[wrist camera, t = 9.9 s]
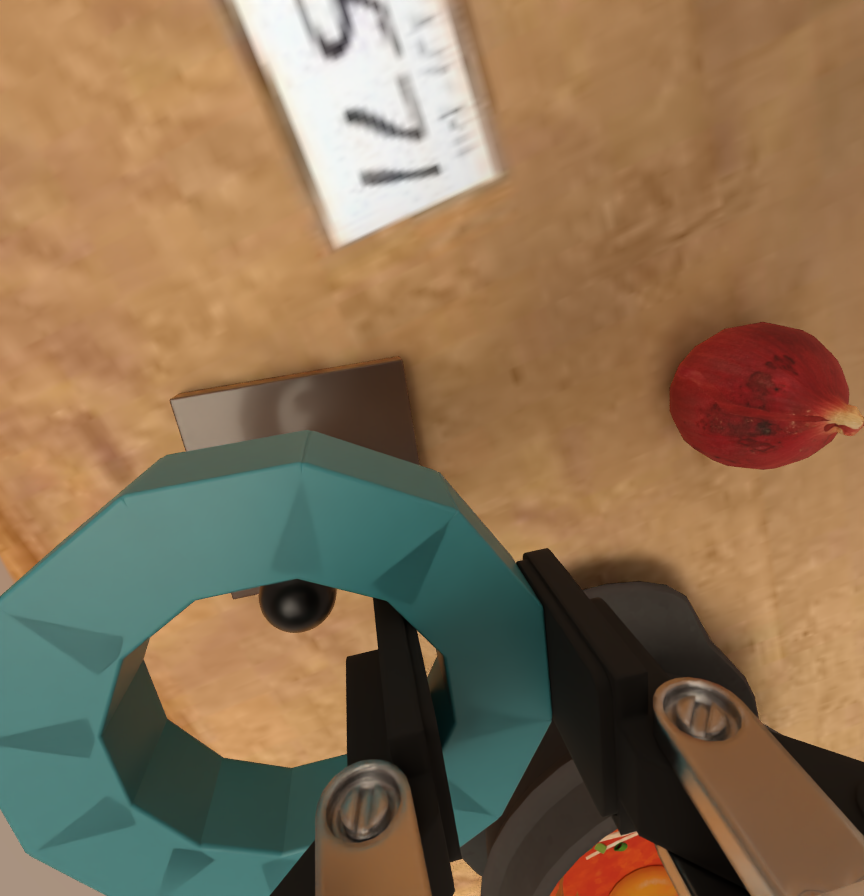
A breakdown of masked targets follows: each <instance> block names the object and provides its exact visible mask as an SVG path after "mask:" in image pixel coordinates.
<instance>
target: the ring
mask: <svg viewBox="0 0 864 896" xmlns="http://www.w3.org/2000/svg"><path fill="white" fill-rule="evenodd" d="M293 579H300V580H304V581H308V582H312V583H317V584H321V585H325V586H329V587H333V588H337V589H341V590H345V591H349V592H353V593H357V594H361V595H365V596H369V597H373V598H377V599H381V600H385V601H387V602H389V603H390V604H391V605H392V606H393V607H394V608H395V609H396V610H397V611H398V612H399V613H400V614H401V615H402V616H403V617H404V618H405V619H406V620H407V621H408V622H409V623H410V624H411V625H412V626H413V627H414V628H415V629H416V630H417V631H418V632H419V633H420V634H422V635H423V636H424V637H425V638H426V639H427V640H428V641H429V642H430V643H431V644H432V645H433V646H434V647H435V648H436V652H437V658H436V660H435V662H434V664H433V666H432V669H431V671H430V673H429V675H428V677H427V680H428V684H429V689H430V693H431V698H432V702H433V707H434V711H435V716H436V721H437V726H438V731H439V736H440V741H441V747H442V752H443V757H444V763H445V768H446V774H447V779H448V785H449V790H450V796H451V801H452V806H453V812H454V817H455V823H456V828H457V834H458V839H459V845H460V847H461V846H463V845H464V844H465V843H467V842H468V841H469V840H471V839H472V838H473V837H475V836H476V835H477V834H479V833H480V832H481V831H483V830H484V829H485V828H487V827H488V826H490V825H491V824H492V823H494V822H495V821H496V820H498V818H499V817H500V816H502V814H503V812H504V810H505V808H506V806H507V804H508V802H509V801H510V799H511V797H512V795H513V793H514V791H515V789H516V787H517V786H518V784H519V782H520V780H521V778H522V776H523V774H524V772H525V771H526V769H527V767H528V765H529V763H530V761H531V759H532V757H533V756H534V754H535V752H536V750H537V748H538V746H539V744H540V742H541V740H542V739H543V737H544V735H545V733H546V731H547V729H548V727H549V725H550V724H551V722H552V703H551V692H550V680H549V668H548V656H547V644H546V632H545V620H544V609H543V606H542V604H541V602H540V601H539V599H538V598H537V596H536V595H535V593H534V591H533V590H532V588H531V587H530V585H529V583H528V582H527V580H526V579H525V577H524V575H523V574H522V572H521V571H520V569H519V567H518V566H517V564H516V563H515V561H514V560H513V558H512V556H511V555H510V554H509V553H508V551H507V550H506V549H505V548H504V547H503V546H502V544H501V543H500V542H499V541H498V540H497V539H496V537H495V536H494V535H493V534H492V533H491V532H490V530H489V529H488V528H487V527H486V526H485V525H484V523H483V522H482V521H481V520H480V519H479V518H478V516H477V515H476V514H475V513H474V512H473V511H472V509H471V508H470V507H469V506H468V505H467V504H466V503H465V501H464V500H463V499H462V498H461V497H460V496H459V494H458V493H457V492H456V491H455V490H454V489H453V487H452V486H451V485H450V484H449V483H448V482H447V480H446V479H445V478H444V477H443V476H442V475H441V473H439V472H437V471H435V470H432V469H429V468H426V467H423V466H420V465H417V464H414V463H411V462H408V461H405V460H402V459H399V458H395V457H392V456H389V455H386V454H383V453H380V452H377V451H374V450H371V449H368V448H365V447H362V446H359V445H356V444H353V443H349V442H346V441H343V440H340V439H337V438H334V437H331V436H328V435H325V434H322V433H319V432H316V431H310V430H304V431H298V432H292V433H287V434H281V435H276V436H270V437H264V438H259V439H253V440H248V441H242V442H237V443H231V444H225V445H220V446H214V447H209V448H203V449H198V450H192V451H186V452H181V453H175V454H170V455H166V456H164V457H163V458H160V459H159V460H158V461H157V462H156V463H154V464H153V465H152V466H151V467H150V468H148V469H147V470H146V471H145V472H144V473H143V474H141V475H140V476H139V477H138V478H137V479H135V480H134V481H133V482H132V483H131V484H130V485H128V486H127V487H126V488H125V489H124V490H122V491H121V492H120V493H119V494H118V495H117V496H115V497H114V498H113V499H112V500H111V501H109V502H108V503H107V504H106V505H105V506H103V507H102V508H101V509H100V510H99V511H98V512H96V513H95V514H94V515H93V516H92V517H90V518H89V519H88V520H87V521H86V522H85V523H83V524H82V525H81V526H80V527H79V528H77V529H76V530H75V531H74V532H73V533H72V534H70V535H69V536H68V537H67V538H66V539H64V540H63V541H62V542H61V543H60V544H59V545H57V546H56V547H55V548H54V549H53V550H52V551H51V552H50V553H48V554H47V555H46V556H45V557H44V558H43V559H42V560H41V561H39V562H38V563H37V564H36V565H35V566H34V567H33V568H32V569H30V570H29V571H28V572H27V573H26V574H25V575H24V576H22V577H21V578H20V579H19V580H18V581H17V582H16V583H15V584H13V585H12V586H11V587H10V588H9V589H8V590H7V591H6V592H4V593H3V594H2V595H1V596H0V809H1V811H2V813H3V814H4V816H5V818H6V819H7V821H8V823H9V825H10V827H11V828H12V830H13V832H14V833H15V835H16V837H17V839H18V840H19V842H20V844H21V846H22V847H23V849H24V851H25V852H26V853H27V854H29V855H30V856H31V857H33V858H35V859H37V860H39V861H41V862H43V863H45V864H47V865H49V866H51V867H52V868H54V869H56V870H58V871H60V872H62V873H64V874H66V875H68V876H70V877H72V878H73V879H75V880H77V881H79V882H81V883H83V884H85V885H87V886H89V887H91V888H93V889H95V890H97V891H99V892H100V893H103V894H104V895H106V896H270V895H271V893H272V892H273V891H274V890H275V888H276V887H277V886H278V885H279V883H280V882H281V881H282V880H283V878H284V877H285V876H286V875H287V873H288V872H289V871H290V870H291V869H292V867H293V866H294V865H295V864H296V862H297V861H298V860H299V859H300V857H301V856H302V855H303V854H304V852H305V851H306V850H307V849H308V848H309V846H310V845H311V844H312V843H313V841H314V840H315V815H316V808H317V803H318V801H319V799H320V796H321V794H322V792H323V790H324V788H325V787H326V786H327V785H328V783H329V782H330V781H331V779H332V778H333V777H334V776H335V775H337V774H338V773H339V772H340V771H342V770H343V769H344V768H346V767H347V754H345V755H341V756H337V757H333V758H329V759H325V760H321V761H317V762H314V763H310V764H306V765H302V766H298V767H294V768H288V767H281V766H274V765H268V764H261V763H254V762H248V761H241V760H234V759H228V758H223V757H222V756H220V755H219V754H217V753H216V752H214V751H213V750H211V749H210V748H209V747H207V746H206V745H204V744H203V743H201V742H200V741H198V740H197V739H196V738H194V737H193V736H191V735H190V734H188V733H187V732H185V731H184V730H183V729H181V728H180V727H178V726H177V725H175V724H174V723H172V722H171V721H170V720H168V719H167V717H166V715H165V712H164V710H163V707H162V705H161V702H160V700H159V697H158V695H157V692H156V690H155V687H154V685H153V682H152V680H151V677H150V675H149V672H148V670H147V667H146V664H145V662H144V656H145V652H146V649H147V645H148V642H149V639H150V637H151V636H152V635H154V634H155V633H156V632H157V631H159V630H160V629H161V628H162V627H163V626H165V625H166V624H167V623H168V622H170V621H171V620H172V619H173V618H174V617H176V616H177V615H178V614H179V613H181V612H182V611H183V610H184V609H185V608H187V607H188V606H189V605H190V604H192V603H193V602H194V601H195V600H199V599H204V598H208V597H213V596H218V595H223V594H227V593H232V592H237V591H241V590H246V589H251V588H256V587H260V586H265V585H270V584H275V583H279V582H284V581H289V580H293Z"/></svg>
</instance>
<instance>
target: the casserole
mask: <svg viewBox="0 0 864 896" xmlns="http://www.w3.org/2000/svg"><path fill="white" fill-rule="evenodd" d="M583 592H584V593H585V594H586V595H587V596H588V598H589V599H592V598H596V597H599V598H602V599H603V600H604V601H605V602H606V603H607V604H608V605H609V606H610V608H611V609H612V610H613V611H614V612H615V613H616V615H617V616H618V617H619V618H620V619H621V620H622V622H623V623H624V624H625V625H626V626H627V628H628V629H629V630H630V631H631V632H632V633H633V635H634V636H635V637H636V638H637V639H638V640H639V642H640V643H641V644H642V645H643V646H644V648H645V649H646V650H647V651H648V652H649V653H650V655H651V656H652V657H653V658H654V659H655V660H656V662H657V663H658V664H659V665H660V666H661V668H662V669H663V670H664V671H665V672H666V673H667V675H668V676H669V677H670V678H671V679H674V678H683V677H692V678H700V679H705V680H708V681H711V682H714V683H717V684H719V685H721V686H722V687H724V688H726V689H728V690H729V691H731V692H733V693H734V694H735V695H736V696H737V697H738V698H739V699H740V700H742V701H743V702H744V703H745V705H746V706H747V707H748V708H749V709H750V710H751V711H752V712H753V713H754V715H755V716H756V717H757V718H758V719H759V717H758V712H757V707H756V702H755V697H754V694H753V692H752V690H751V688H750V686H749V684H748V682H747V680H746V678H745V676H744V675H743V674H742V673H741V672H740V671H739V670H738V669H737V668H736V667H735V665H734V664H733V663H732V662H731V661H730V660H729V659H728V658H727V657H726V656H725V655H724V654H723V653H722V652H721V651H720V650H719V649H718V648H717V647H716V645H715V644H714V643H713V642H712V641H711V640H710V638H709V636H708V634H707V633H706V631H705V629H704V627H703V625H702V624H701V622H700V620H699V618H698V616H697V615H696V613H695V611H694V609H693V607H692V606H691V604H690V602H689V600H688V598H687V597H686V596H685V595H683V594H681V593H680V592H678V591H676V590H674V589H673V588H671V587H669V586H667V585H664V584H656V583H649V582H641V581H637V582H625V583H612V584H605V585H601V586H597V587H593V588H589V589H585V590H583ZM763 725H764V724H763ZM764 726H765V727H766V728H767V729H768V730H769V731H772V732H775V733H778V732H777V731H775V730H773V729H771V728H770V727H768V726H766V725H764ZM778 734H780V733H778ZM781 735H782V734H781ZM460 850H461V855H462V859H463V860H464V861H465V862H466V863H467V864H468V865H469V866H470V867H471V868H472V869H473V870H474V871H475V872H476V873H477V874H479V875H480V876H482V885H481V896H678V894H677V892H676V890H675V888H674V886H673V884H672V882H671V880H670V878H669V876H668V874H667V872H666V870H665V868H664V866H663V864H662V862H661V860H660V858H659V856H658V853H657V850H656V848H655V845H654V843H652V842H650V841H648V840H646V839H644V838H642V837H640V836H639V835H638V833H637V831H636V832H632V833H629V834H626V835H622V836H621V835H620V833H619V831H618V829H617V827H616V825H615V823H614V821H613V819H612V817H611V815H610V816H607V817H602V816H601V815H600V813H599V811H598V810H597V808H596V806H595V804H594V802H593V800H592V798H591V796H590V794H589V792H588V790H587V788H586V785H585V783H584V781H583V779H582V777H581V775H580V773H579V771H578V769H577V767H576V765H575V763H574V761H573V759H572V757H571V755H570V753H569V751H568V749H567V747H566V745H565V743H564V741H563V739H562V737H561V735H560V733H559V731H558V729H557V727H556V725H555V723H554V721H553V719H552V722H551V724H550V725H549V727H548V729H547V731H546V733H545V735H544V737H543V739H542V740H541V742H540V744H539V746H538V748H537V750H536V752H535V754H534V756H533V757H532V759H531V761H530V763H529V765H528V767H527V769H526V771H525V772H524V774H523V776H522V778H521V780H520V782H519V784H518V786H517V787H516V789H515V791H514V793H513V795H512V797H511V799H510V801H509V802H508V804H507V806H506V808H505V810H504V812H503V814H502V816H500V817H499V818H498V820H496V821H495V822H494V823H492V824H491V825H490V826H488V827H487V828H485V829H484V830H483V831H481V832H480V833H479V834H477V835H476V836H475V837H473V838H472V839H471V840H469V841H468V842H467V843H465V844H464V845H463V846H461V847H460Z"/></svg>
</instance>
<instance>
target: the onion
mask: <svg viewBox="0 0 864 896" xmlns="http://www.w3.org/2000/svg"><path fill="white" fill-rule="evenodd" d="M848 403H849V388H848V385H847V382H846V379H845V376H844V374H843V371H842V368H841V366H840V364H839V362H838V360H837V359H836V358H835V357H834V356H833V355H832V353H831V352H830V351H829V350H828V349H826V348H825V347H824V345H823V344H821V343H820V342H819V341H818V340H817V339H816V338H815V337H814V336H812V335H810V334H808V333H807V332H805V331H803V330H799V329H794V328H790V327H785V326H780V325H775V324H771V323H766V322H760V323H754V324H748V325H743V326H737V327H732V328H727V329H723V330H722V331H720V332H719V333H717V334H715V335H714V336H712V337H710V338H709V339H707V340H705V341H704V342H702V343H700V344H699V345H697V346H695V347H694V348H693V349H692V351H691V352H690V353H689V354H688V355H687V356H686V358H685V359H684V360H683V361H682V362H681V363H680V364H679V366H678V369H677V371H676V373H675V376H674V378H673V381H672V383H671V386H670V413H671V415H672V418H673V420H674V422H675V424H676V426H677V428H678V430H679V432H680V434H681V436H682V437H683V439H684V440H685V441H686V442H687V443H688V444H689V445H691V446H692V447H693V448H694V449H696V450H697V451H699V452H701V453H702V454H704V455H705V456H707V457H709V458H710V459H712V460H714V461H717V462H719V463H722V464H724V465H727V466H734V467H743V468H753V469H763V470H764V469H773V468H778V467H781V466H784V465H787V464H791V463H794V462H797V461H800V460H802V459H805V458H808V457H809V456H811V455H813V454H814V453H816V452H817V451H819V450H820V449H821V448H823V447H824V446H825V445H827V444H828V443H830V442H831V441H832V440H833V439H834V437H835V436H836V434H837V433H841V434H843V435H847V436H853V435H855V434H856V433H857V432H858V431H859V430H860V429H861V428H862V427H863V426H864V417H863V416H862V415H861V414H860V412H859V410H858V408H857V407H855V406H851V405H848Z"/></svg>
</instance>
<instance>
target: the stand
mask: <svg viewBox="0 0 864 896" xmlns="http://www.w3.org/2000/svg"><path fill="white" fill-rule="evenodd" d="M170 403H171V406H172V409H173V412H174V416H175V419H176V422H177V425H178V428H179V431H180V434H181V438H182V441H183V444H184V447H185V450H186V451H192V450H198V449H203V448H209V447H214V446H220V445H225V444H231V443H237V442H242V441H248V440H253V439H259V438H264V437H270V436H276V435H281V434H287V433H292V432H298V431H304V430H310V431H316V432H319V433H322V434H325V435H328V436H331V437H334V438H337V439H340V440H343V441H346V442H349V443H353V444H356V445H359V446H362V447H365V448H368V449H371V450H374V451H377V452H380V453H383V454H386V455H389V456H392V457H395V458H399V459H402V460H405V461H408V462H411V463H414V464H417V465H420V464H419V458H418V451H417V445H416V439H415V433H414V427H413V421H412V415H411V409H410V403H409V396H408V390H407V384H406V378H405V372H404V366H403V361H402V359H401V358H400V357H399V356H397V357H391V358H385V359H379V360H373V361H367V362H361V363H356V364H350V365H344V366H338V367H332V368H326V369H320V370H314V371H309V372H303V373H297V374H291V375H285V376H279V377H273V378H268V379H262V380H256V381H250V382H244V383H238V384H232V385H226V386H221V387H215V388H209V389H203V390H197V391H191V392H185V393H180V394H178V395H176V396H175V397H173V398H172V399H170ZM336 592H337V588H333V587H329V586H325V585H321V584H317V583H312V582H308V581H304V580H300V579H293V580H289V581H284V582H279V583H275V584H270V585H265V586H260V587H256V588H251V589H246V590H241V591H237V592H232V593H231V594H232V598H233V599H237V598H242V597H247V596H251V595H256V594H259V603H260V607H261V610H262V613H263V615H264V616H265V618H266V619H267V620H268V621H269V622H270V623H271V624H272V625H273V626H274V627H276V628H278V629H280V630H282V631H285V632H290V633H300V632H305V631H308V630H311V629H313V628H315V627H317V626H318V625H319V624H321V623H322V622H323V621H324V620H325V619H326V618H327V617H328V615H329V614H330V612H331V611H332V608H333V606H334V603H335V600H336Z"/></svg>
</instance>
